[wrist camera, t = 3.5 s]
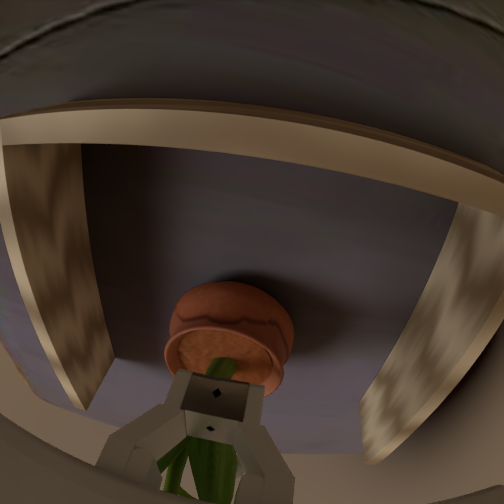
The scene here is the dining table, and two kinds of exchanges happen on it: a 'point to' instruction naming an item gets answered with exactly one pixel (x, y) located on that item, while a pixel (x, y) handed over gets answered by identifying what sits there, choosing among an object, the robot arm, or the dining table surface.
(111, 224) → the dining table surface
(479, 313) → the open wooden planter box
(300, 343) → the dining table surface
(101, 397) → the dining table surface
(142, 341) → the dining table surface
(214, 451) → the potted flower
